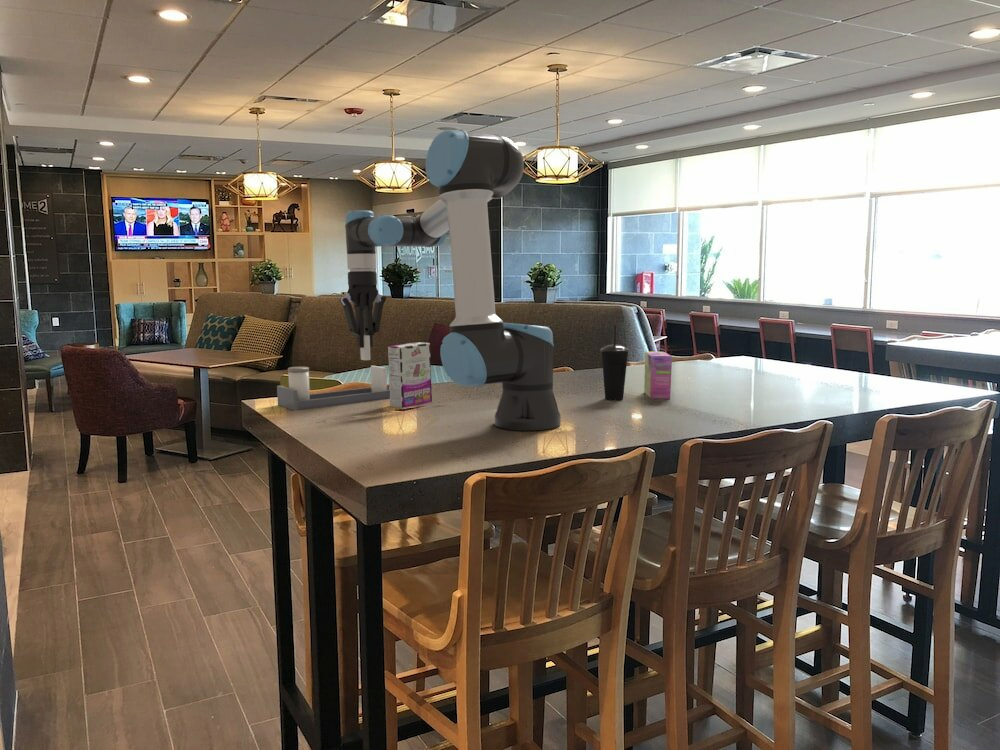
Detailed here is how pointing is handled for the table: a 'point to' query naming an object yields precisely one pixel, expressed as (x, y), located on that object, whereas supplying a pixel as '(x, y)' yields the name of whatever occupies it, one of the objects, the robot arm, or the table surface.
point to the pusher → (378, 379)
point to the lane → (328, 398)
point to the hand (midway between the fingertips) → (365, 359)
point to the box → (657, 375)
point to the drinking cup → (614, 369)
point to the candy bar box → (409, 375)
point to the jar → (299, 382)
